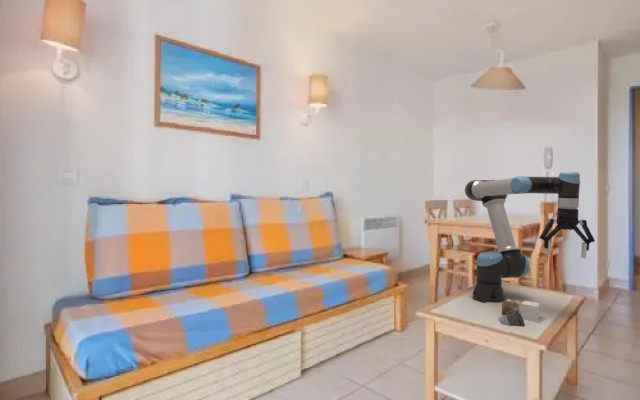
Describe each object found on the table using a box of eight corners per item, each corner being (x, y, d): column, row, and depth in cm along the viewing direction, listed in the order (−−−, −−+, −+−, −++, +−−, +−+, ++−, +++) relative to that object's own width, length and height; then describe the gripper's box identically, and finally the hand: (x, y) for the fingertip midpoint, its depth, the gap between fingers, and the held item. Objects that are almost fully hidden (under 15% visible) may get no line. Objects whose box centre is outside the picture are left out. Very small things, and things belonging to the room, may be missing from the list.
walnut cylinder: (500, 316, 162) (500, 302, 162) (503, 313, 165) (504, 300, 165) (510, 318, 159) (511, 304, 159) (514, 316, 162) (514, 302, 162)
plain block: (521, 317, 159) (521, 303, 158) (523, 314, 163) (523, 300, 163) (537, 320, 155) (538, 306, 155) (539, 316, 160) (539, 303, 160)
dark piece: (491, 319, 160) (497, 306, 151) (505, 314, 161) (512, 300, 152) (504, 339, 154) (511, 327, 145) (519, 334, 154) (528, 322, 146)
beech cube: (506, 312, 167) (506, 301, 167) (506, 309, 172) (507, 299, 171) (518, 314, 165) (519, 303, 165) (518, 311, 169) (519, 300, 169)
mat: (513, 318, 159) (513, 317, 159) (521, 313, 166) (521, 311, 166) (539, 324, 152) (539, 323, 152) (547, 319, 159) (547, 317, 159)
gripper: (538, 207, 158) (536, 256, 159) (605, 209, 152) (603, 260, 153) (533, 206, 166) (530, 253, 167) (597, 208, 160) (594, 257, 161)
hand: (565, 257), depth 160 cm, fingers open, 13 cm apart
